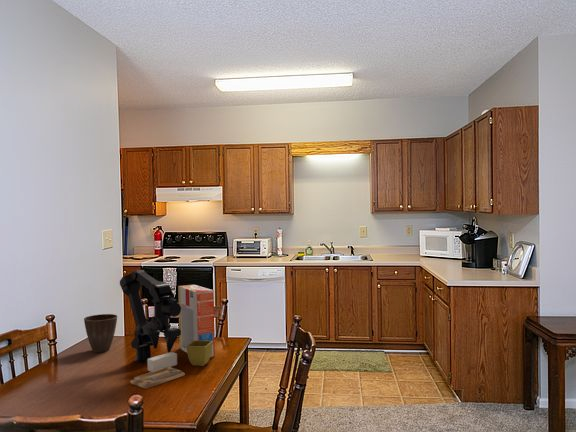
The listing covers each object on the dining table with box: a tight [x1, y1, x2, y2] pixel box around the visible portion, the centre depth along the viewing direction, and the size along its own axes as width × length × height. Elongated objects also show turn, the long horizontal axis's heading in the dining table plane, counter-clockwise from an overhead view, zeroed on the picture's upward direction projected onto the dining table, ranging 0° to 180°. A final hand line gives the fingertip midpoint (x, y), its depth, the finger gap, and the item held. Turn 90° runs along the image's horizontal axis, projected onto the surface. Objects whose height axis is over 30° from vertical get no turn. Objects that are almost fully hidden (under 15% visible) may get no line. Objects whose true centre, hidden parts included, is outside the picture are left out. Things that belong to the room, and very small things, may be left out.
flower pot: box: [186, 340, 213, 367], centre depth 201 cm, size 9×9×9 cm
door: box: [147, 351, 178, 372], centre depth 198 cm, size 4×12×5 cm, turn 142°
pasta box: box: [177, 284, 216, 358], centre depth 219 cm, size 23×8×30 cm, turn 33°
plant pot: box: [83, 313, 118, 353], centre depth 225 cm, size 15×15×16 cm
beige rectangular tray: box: [129, 366, 186, 389], centre depth 183 cm, size 10×18×3 cm, turn 142°
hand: (162, 350), depth 198 cm, fingers open, 9 cm apart
